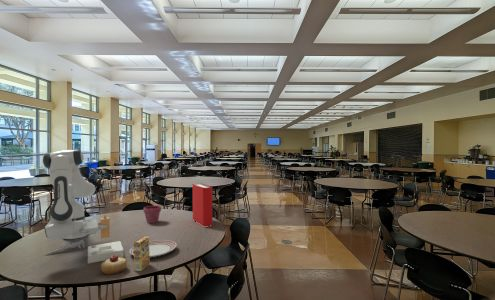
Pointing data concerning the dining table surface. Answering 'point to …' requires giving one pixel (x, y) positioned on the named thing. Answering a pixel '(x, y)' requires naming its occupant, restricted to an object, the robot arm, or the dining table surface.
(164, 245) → the dinner plate
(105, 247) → the housing
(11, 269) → the dining table surface
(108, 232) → the block
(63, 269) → the dining table surface
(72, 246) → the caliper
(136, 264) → the candy box
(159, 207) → the plant pot
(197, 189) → the book
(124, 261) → the pastry
